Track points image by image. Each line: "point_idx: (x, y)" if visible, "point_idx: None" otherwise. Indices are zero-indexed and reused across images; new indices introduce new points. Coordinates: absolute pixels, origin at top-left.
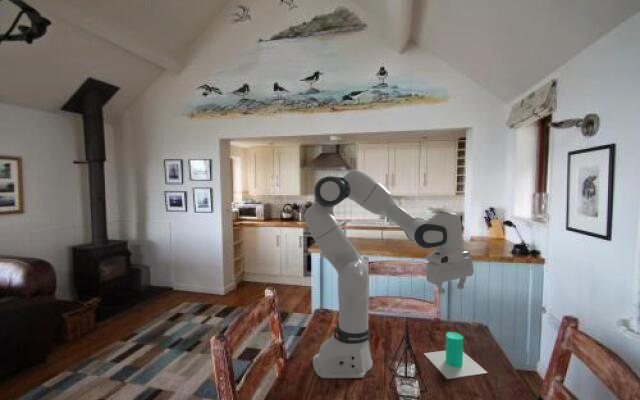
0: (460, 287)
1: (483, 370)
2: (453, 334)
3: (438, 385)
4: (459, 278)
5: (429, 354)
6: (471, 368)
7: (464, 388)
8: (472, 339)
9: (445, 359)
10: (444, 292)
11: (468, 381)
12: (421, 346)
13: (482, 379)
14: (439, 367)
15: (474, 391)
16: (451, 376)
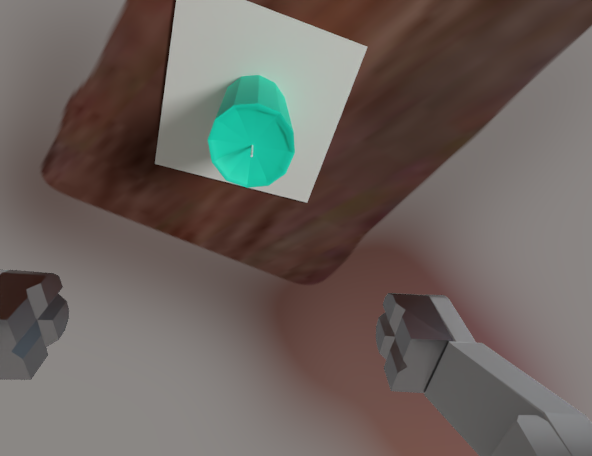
0: (384, 346)
1: (305, 190)
2: (267, 125)
3: (102, 170)
4: (513, 425)
5: (200, 2)
6: None
7: (176, 214)
8: (502, 13)
9: (238, 75)
10: (56, 331)
11: (215, 199)
12: None
13: (264, 211)
14: (172, 104)
15: (194, 233)
16: (177, 163)
